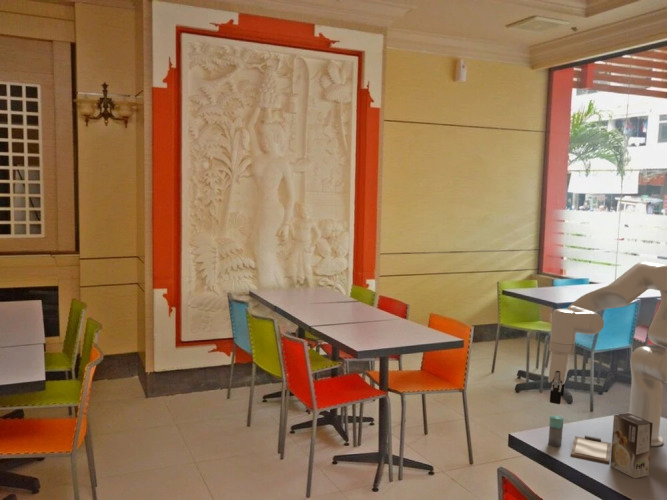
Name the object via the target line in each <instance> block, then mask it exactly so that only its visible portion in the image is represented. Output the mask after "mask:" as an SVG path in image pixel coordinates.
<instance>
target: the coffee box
mask: <svg viewBox="0 0 667 500" xmlns="http://www.w3.org/2000/svg"><path fill="white" fill-rule="evenodd" d="M612 421H613V424H612V439H611V448H610V461H609V466H610V467H611V468H613V469H616V470H618V471H619V472H621V473H623V474H625V475H627V476H629V477H631V478H633V479H639V478H644V477H648V476H649V473H650V461H651V460H650V459H651V449H652V446H651V438H652V426H653V423H652V422H649V421H647V420H644V419H642V418H640V417H637V416H635V415H632V414H630V413H629V412H624V413H618V414H614V415H613V420H612Z"/></svg>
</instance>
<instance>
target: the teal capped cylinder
mask: <svg viewBox="0 0 667 500" xmlns="http://www.w3.org/2000/svg"><path fill="white" fill-rule="evenodd" d="M563 428H564V417H562V416H561V415H556V414H555V415H550V416H549V430H548V445H549V446H551V447H553V448H554V447H555V448H560V447H562V442H563V440H562V438H563Z"/></svg>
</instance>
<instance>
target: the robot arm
mask: <svg viewBox="0 0 667 500" xmlns="http://www.w3.org/2000/svg"><path fill="white" fill-rule="evenodd" d="M647 290H655V291H659V293H660V303H659V307H658V309H657V311H656V313H655V315H654V317H653V319H652V322H651V323H650V326H649V328H648V331H647V338H648V340H649V341H650V342H651V343H652V344H654V345H656V346H659V347H661V348H664V349H665V351H663V350H661V349H657V348H654V347H651V346H645V345H644V346H640V347H639V346H638V347H636V349H634V350H633V351H632V353H631V356H630V360H629V362H630V363H629V364H630V371H631V387H630V397H629V399H630V400H629V407H628V408H629V411H628V413H630V414H632V415H635V416H637V417H640V418H642V419H644V420H647V421H649V422H652V423H653V426H652V438H651V447H658V446H662V445H663V444H664V438H663V437H662V436H661V435H660V427H661V425H660V424H661V416H662V415H661V414H662V406H663V405H662V404H663V394H664V387H663V383H664V384H667V264H662V263H656V262H651V261H650V262H649V261H640V262H638V263H637V262H636V264H634V265H633V266H631V267H630V268H629V269H628V270H626V271H625V272H624V273H623V274H621V275H620V276H618V278H616V279H615V280H614V281H613V282H611V283H609V284H608V285H605V286H603V287H600V288H598V289H595V290H593V291H590V292H588V293H585V294H583V295H581V296H579V297H578V298H577V299H576V300H575V301H573V302H572V303H571V304H570V305H568V307H566V308H556V309H554V310H553V311H552V315H551V325H550V338H549V345H548V346H549V348H548V351H549V352H550V353H551V357H550V363H549V369H548V371H549V372H548V381H547V382H548V383H549V384H551V383H552V384H551V388H550V392H549V393H550V394H549V395H550V396H549V403H551V404H556V405H560V404H561V401H562V397H563V396H564V394H565V383H566V379H567V377H568V376H567V375H568V371H569V370H568V369H569V364H570V356H572V355H574V353H575V345H576V344H575V343H576V336H577V335H576V334H585V335H596V334H598V333H600V332H601V331H602V330H603V328H604V325H605V322H604V319H603V317H602V316H601V315H600V314H599V313H598V312H599V311H604V310H606V309H607V310H609V309H616V308H623V307H626V306H628V305H630V304H631V303H632V302H634V301H635V300H636V299H638V297H640V296H641V295H642V294H644V293H645V292H646V291H647Z"/></svg>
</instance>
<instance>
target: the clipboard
mask: <svg viewBox="0 0 667 500" xmlns="http://www.w3.org/2000/svg"><path fill="white" fill-rule="evenodd" d="M572 443H573V444H572V448H571V452H570V457H574V458H578V459H584V460H589V461H594V462H598V463H605V464H608V465H610V460H611V449H612V442H607V441H602V438H601V437H596V436H590V435H584V437H583V436H582V437H580V436H577V435H576V436H574V439H573V442H572Z"/></svg>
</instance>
